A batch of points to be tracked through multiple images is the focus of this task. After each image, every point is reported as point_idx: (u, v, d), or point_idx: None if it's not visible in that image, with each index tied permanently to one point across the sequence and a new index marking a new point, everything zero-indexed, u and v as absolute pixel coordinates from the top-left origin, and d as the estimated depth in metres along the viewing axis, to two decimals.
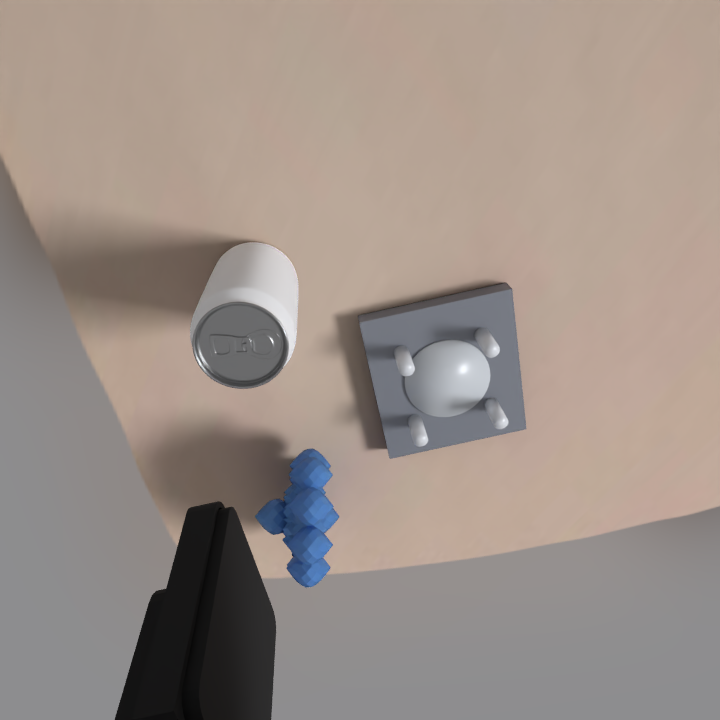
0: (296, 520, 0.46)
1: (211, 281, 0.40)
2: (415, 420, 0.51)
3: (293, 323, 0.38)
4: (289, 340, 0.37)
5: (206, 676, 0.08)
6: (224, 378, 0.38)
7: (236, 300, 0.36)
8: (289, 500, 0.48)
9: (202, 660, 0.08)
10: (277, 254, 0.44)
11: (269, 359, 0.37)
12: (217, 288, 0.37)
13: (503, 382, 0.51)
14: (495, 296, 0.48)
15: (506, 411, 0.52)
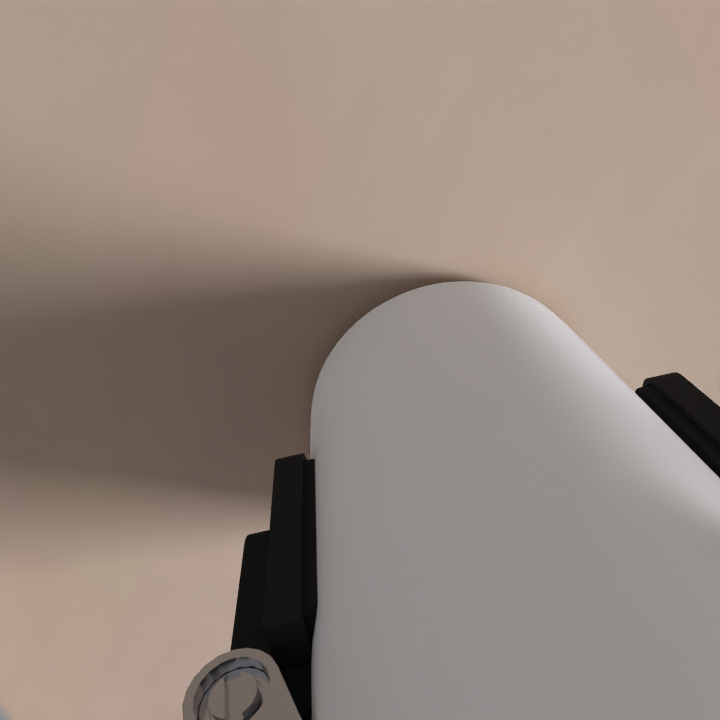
0: None
1: (399, 532, 0.07)
2: None
3: None
4: None
5: None
6: None
7: None
8: None
9: (316, 582, 0.08)
10: (569, 330, 0.12)
11: None
12: None
13: None
14: None
15: None
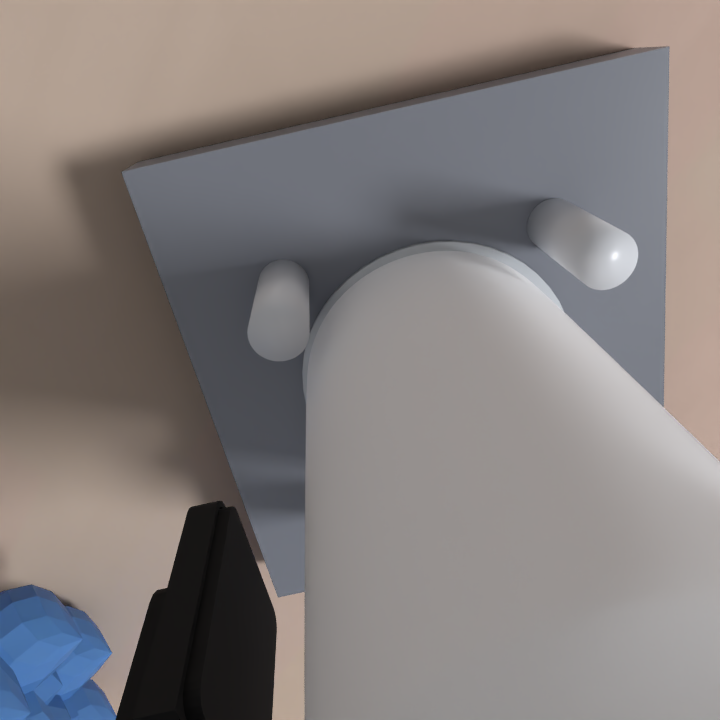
0: None
1: (382, 441, 0.08)
2: None
3: None
4: None
5: (207, 675, 0.08)
6: None
7: None
8: None
9: (203, 659, 0.08)
10: (543, 293, 0.13)
11: None
12: (501, 562, 0.06)
13: None
14: (607, 76, 0.13)
15: None
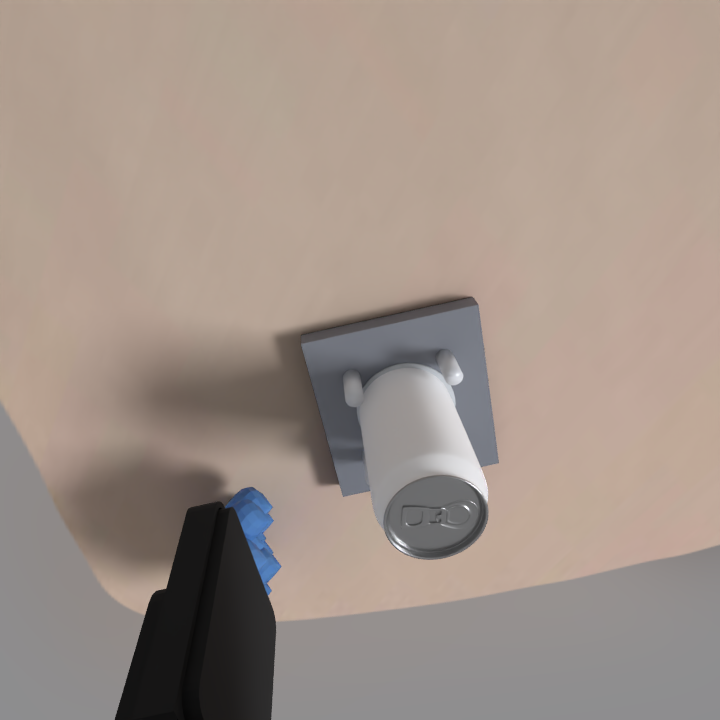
0: None
1: (386, 431, 0.36)
2: None
3: None
4: None
5: (206, 676, 0.08)
6: (410, 548, 0.34)
7: (436, 471, 0.32)
8: None
9: (202, 660, 0.08)
10: (437, 384, 0.41)
11: (462, 529, 0.33)
12: (407, 450, 0.33)
13: (471, 411, 0.44)
14: (459, 313, 0.41)
15: (475, 443, 0.45)
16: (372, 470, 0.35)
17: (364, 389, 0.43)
